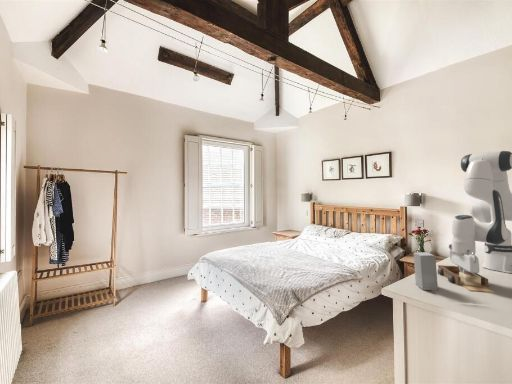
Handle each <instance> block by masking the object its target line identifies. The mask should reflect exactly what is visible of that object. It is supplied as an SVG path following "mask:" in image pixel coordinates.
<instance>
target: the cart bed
mask: <svg viewBox="0 0 512 384" xmlns="http://www.w3.org/2000/svg"><path fill="white" fill-rule="evenodd" d="M437 266H438V267H437V274H438V275H440V276H444V278H446V279H447V281H448V282H449V283H451V284H455V285H456V286H461V287H462V285H465V284H463V283H462V282H461V277H459V272H460V270H459V266H457V265H444V264H438V265H437ZM469 273H470V272H469ZM474 274H476V275H478V276H480V277H481V287H487V288H489V279H488V278H487V277H485V276H483V275H481V274H479V273H474ZM468 286H471V285H468Z"/></svg>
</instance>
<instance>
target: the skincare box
mask: <svg viewBox="0 0 512 384" xmlns="http://www.w3.org/2000/svg"><path fill="white" fill-rule="evenodd" d="M413 262H414V263H413V265H414V277H415V285H416V286H418V288H420V289H421V290H423V291H433V290H434V291H438V290H439V288H438V287H439V285H438V283H439V282H438V275H437V274H438V270H437V261H436V255H435V254H432V253H430V252H427V251H426V252H424V251H423V252H418V251H417V252H416V251H415V252H413Z"/></svg>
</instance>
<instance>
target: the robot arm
mask: <svg viewBox="0 0 512 384" xmlns="http://www.w3.org/2000/svg"><path fill="white" fill-rule="evenodd" d="M460 167H461V170H462V171H463V172H464V173H465V175H464V181H463V182H464V183H463V190H464V192H465V194H467V195H468V196H470V197H472V198H474V199H476V200H477V199H478V200H480V201H474V202H473V203H471V204H470V205H469V213H470V214H469V215H468V214H461V215H456V216H454V217H453V220H452V227H451V229H452V230H451V232H452V235H453V236H452V241H451V242H452V243H449V244H448V248H449V260H450V262H451V263H452V264H454V265H455V266H459V270H460V272H464V273H469V272H470V273H477V274H479V273H480V262H479V258H478V256H477V255H476V248H477V247H476V242H480V243H484V258H483V263H482V265H481V267H482V268H484V269H488V270H491V271H498V272H502V273H507V274H512V232H511V230H510V229H509V228H508V227H507V225H506V221H509V222H512V191H511V189H510V184H509V178H508V177H509V176H508V171H510V170H511V169H512V152H511V151H508V150H507V151H506V150H501V151H485V152H478V153H473V154H472V153H470V154H467V155H466V154H465V155H464V156H462V158H461V160H460ZM475 220H477V221H475Z"/></svg>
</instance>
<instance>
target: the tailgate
mask: <svg viewBox="0 0 512 384" xmlns="http://www.w3.org/2000/svg"><path fill="white" fill-rule="evenodd" d="M461 287H463V288H464V289H465V290H467V291H469V292H477V293H490V294H491V293H492V294H494V293H495V291H494V290H492V289H490V288H489V287H488V288H487V287H481V286H468V285H462V286H461Z"/></svg>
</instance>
